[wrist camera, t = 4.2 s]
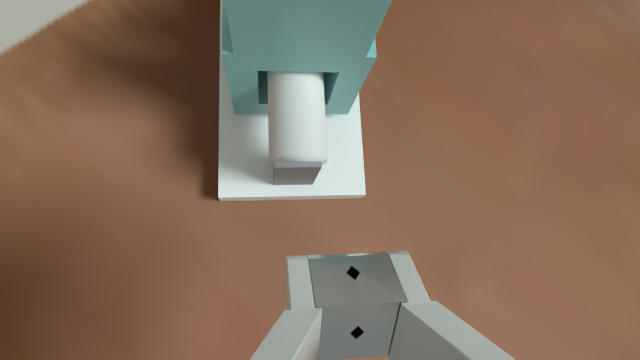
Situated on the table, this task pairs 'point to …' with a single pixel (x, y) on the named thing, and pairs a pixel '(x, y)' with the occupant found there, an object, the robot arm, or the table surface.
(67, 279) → the table surface
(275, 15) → the teal notched saddle block
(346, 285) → the robot arm
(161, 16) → the table surface
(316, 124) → the pipe stand
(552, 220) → the table surface
